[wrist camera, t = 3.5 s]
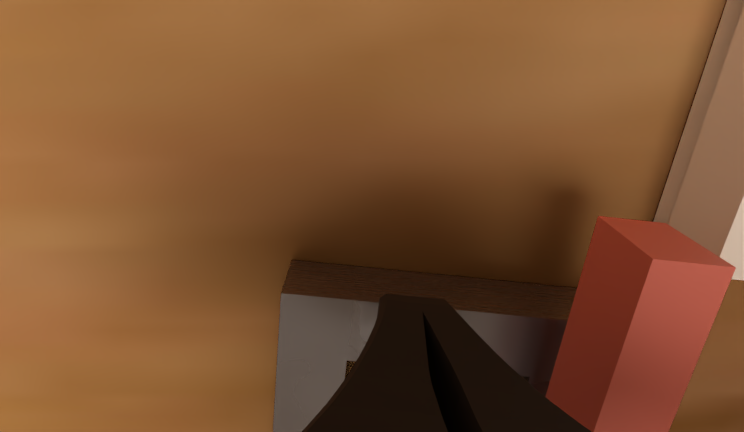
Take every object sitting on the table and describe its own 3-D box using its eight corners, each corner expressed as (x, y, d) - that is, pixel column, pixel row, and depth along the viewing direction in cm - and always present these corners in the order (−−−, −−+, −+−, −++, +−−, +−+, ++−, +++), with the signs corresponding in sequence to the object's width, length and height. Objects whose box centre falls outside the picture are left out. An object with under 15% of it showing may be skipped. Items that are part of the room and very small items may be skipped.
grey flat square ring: (583, 288, 14) (614, 324, 12) (520, 502, 16) (538, 556, 15) (292, 259, 13) (280, 293, 11) (276, 483, 16) (266, 537, 14)
